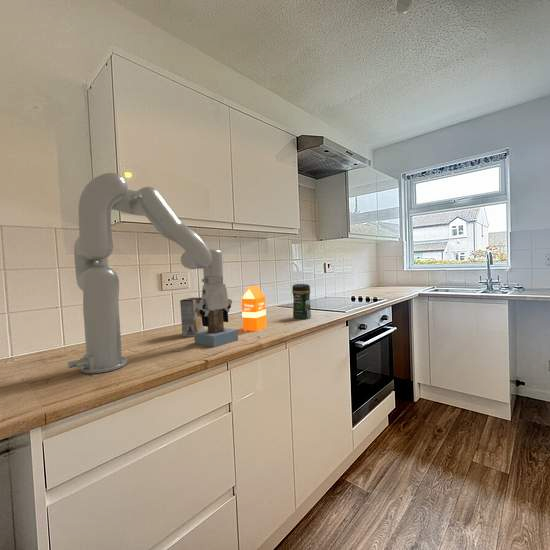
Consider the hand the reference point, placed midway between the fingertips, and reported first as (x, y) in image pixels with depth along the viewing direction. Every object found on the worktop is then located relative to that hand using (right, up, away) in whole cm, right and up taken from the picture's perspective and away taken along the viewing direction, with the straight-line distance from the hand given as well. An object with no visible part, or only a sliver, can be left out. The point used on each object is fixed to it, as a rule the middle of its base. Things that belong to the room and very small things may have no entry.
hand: (215, 323), depth 119 cm
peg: (0, -7, 0) cm, 7 cm away
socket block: (0, -7, 0) cm, 7 cm away
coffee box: (-13, -7, +15) cm, 21 cm away
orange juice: (+14, -6, +21) cm, 26 cm away
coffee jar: (+38, -4, +44) cm, 58 cm away
